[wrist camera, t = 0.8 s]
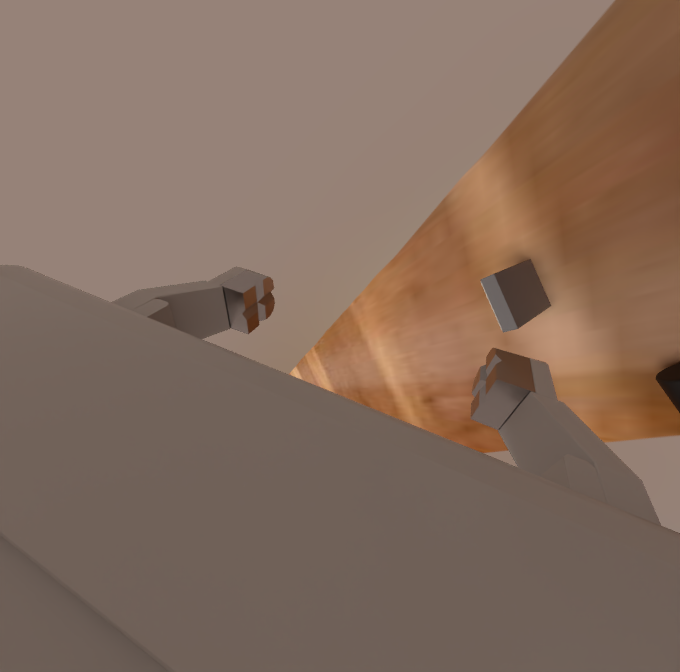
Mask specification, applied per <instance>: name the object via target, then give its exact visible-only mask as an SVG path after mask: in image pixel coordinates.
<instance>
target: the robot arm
mask: <svg viewBox="0 0 680 672" xmlns="http://www.w3.org/2000/svg"><path fill="white" fill-rule="evenodd" d="M273 289H274V285H273V280H272V279H271V278H270V277H268V276H265V275H262V274H259V273H256V272H253V271H250V270H247V269H244V268H240V267H234V268H232V269H231V270H229V271H227V272H225V273H223V274H221V275H219V276H218V277H216V278H214V279H212V280H210V281H208V282H207V281H199V282H192V283H185V284H178V285H170V286H163V287H156V288H149V289H142V290H137V291H135V292H132V293H130V294H128V295H126V296H124V297H122V298H119V299H118V300H115V301H113V302H109V301H106V300H104V299H101V298H99V297H96V296H94V295H91V294H89V293H86V292H84V291H82V290H79V289H77V288H74V287H72V286H69V285H67V284H64V283H62V282H60V281H57V280H55V279H52V278H50V277H47V276H45V275H43V274H40V273H38V272H35V271H33V270H31V269H28V268H25V267H22V266H16V265H0V672H680V533H678V532H675V531H673V530H671V529H668V528H665V527H663V526H661V524H660V522H659V519H658V517H657V515H656V512H655V510H654V508H653V505H652V503H651V501H650V498H649V496H648V494H647V491H646V489H645V487H644V484H643V482H642V480H641V479H639V477H638V476H636V474H635V473H634V472H633V471H632V470H631V469H630V468H629V467H628V466H626V464H624V462H622V461H621V459H619V458H618V456H617V455H615V453H613V451H611V449H609V447H608V446H607V445H606V444H605V443H604V442H603V441H602V440H600V439H599V438H598V437H597V436H596V435H595V434H594V433H593V432H592V431H591V430H590V429H589V428H588V427H587V426H586V425H585V424H584V423H583V422H582V421H581V420H580V419H579V418H578V417H577V416H576V415H575V414H574V413H573V412H572V411H571V410H570V409H569V408H568V407H567V406H566V405H565V404H564V403H563V402H561V401H558V400H557V396H556V392H555V389H554V385H553V381H552V377H551V374H550V370H549V366H548V364H547V363H546V362H542V361H539V360H535V359H531V358H527V357H524V356H520V355H517V354H513V353H510V352H507V351H503V350H500V349H496V348H492V349H491V350H490V352H489V353H488V355H487V357H486V365H484V366H481V367H480V369H479V371H478V372H477V374H476V377H475V379H474V382H473V387H472V394H473V395H474V397H475V398H474V400H473V401H472V403H471V419H472V420H475V421H477V422H480V423H482V424H484V425H487V426H489V427H492V428H494V429H497V430H499V431H498V432H499V434H500V435H501V437H502V439H503V441H504V443H505V444H506V446H507V448H508V450H509V452H510V453H511V455H512V457H513V459H514V461H515V463H516V464H517V466H518V467H515V466H513V465H510V464H508V463H505V462H503V461H500V460H498V459H496V458H493V457H491V456H488V455H486V454H483V453H481V452H478V451H476V450H473V449H471V448H468V447H466V446H463V445H461V444H458V443H456V442H453V441H451V440H449V439H446V438H444V437H441V436H439V435H436V434H434V433H431V432H429V431H426V430H424V429H421V428H419V427H417V426H414V425H412V424H409V423H407V422H404V421H402V420H399V419H397V418H394V417H392V416H390V415H387V414H385V413H382V412H380V411H377V410H375V409H372V408H370V407H367V406H365V405H363V404H360V403H358V402H355V401H353V400H350V399H348V398H345V397H343V396H340V395H338V394H335V393H333V392H331V391H328V390H326V389H323V388H321V387H318V386H316V385H313V384H311V383H308V382H306V381H303V380H301V379H298V378H296V377H293V376H291V375H288V374H286V373H283V372H281V371H279V370H276V369H273V368H271V367H269V366H266V365H264V364H261V363H259V362H256V361H254V360H251V359H249V358H246V357H244V356H242V355H239V354H237V353H234V352H232V351H229V350H227V349H224V348H222V347H219V346H217V345H214V344H212V343H210V342H207V341H204V340H202V339H203V338H206V337H209V336H212V335H214V334H217V333H220V332H222V331H225V330H228V329H230V328H232V329H235V330H238V331H240V332H243V333H246V334H249V333H250V332H252V331H253V330H254V329H255V328H256V327H258V326H259V321H262V320H265V319H267V318H268V317H269V316H270V315H271V313H272V311H273V309H274V304H275V302H274V297H273V295H272V293H271V291H272V290H273Z"/></svg>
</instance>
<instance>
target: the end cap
mask: <svg viewBox="0 0 680 672" xmlns="http://www.w3.org/2000/svg"><path fill="white" fill-rule="evenodd" d="M656 380H657V381H658V383H659V384H660V386H661V387H662V389H663V390H664V391H665V393H666V394H667V396H668V397H669V398H670V400H671V401H672V403H673V404H674V405H675V407H676V408H677V410H678V411H679V413H680V363H679V364H676V365H673V366H670V367H668V368H666V369H664V370H662V371H661V372H659V373H658V374H657V376H656Z"/></svg>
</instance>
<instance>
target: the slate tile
mask: <svg viewBox="0 0 680 672" xmlns="http://www.w3.org/2000/svg"><path fill="white" fill-rule="evenodd" d="M481 284H482V286H483V289H484V291H485V293H486V296H487V298H488V300H489V302H490V305H491V307H492V309H493V312H494V314H495V316H496V318H497V321H498V323H499V325H500V328H501V330H502V331H503V332H507V331H511V330H515V329H518V328H520V327H521V326H523V325H524V324H526V323H527V322H528V321H530V320H531V319H533V318H534V317H536V316H537V315H539V314H540V313H541V312H543V311H544V310H546V309H547V308H549V307H550V306H551V304H550V302H549V300H548V298H547V295H546V293H545V291H544V289H543V286H542V284H541V282H540V280H539V277H538V275H537V273H536V270H535V268H534V266H533V264H532V261H531V259H530V260H527V261H525V262H522V263H520V264H517V265H515V266H512V267H510V268H507V269H505V270H502V271H500V272H497V273H495V274H493V275H490V276H488V277H486V278H483V279H481Z"/></svg>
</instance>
